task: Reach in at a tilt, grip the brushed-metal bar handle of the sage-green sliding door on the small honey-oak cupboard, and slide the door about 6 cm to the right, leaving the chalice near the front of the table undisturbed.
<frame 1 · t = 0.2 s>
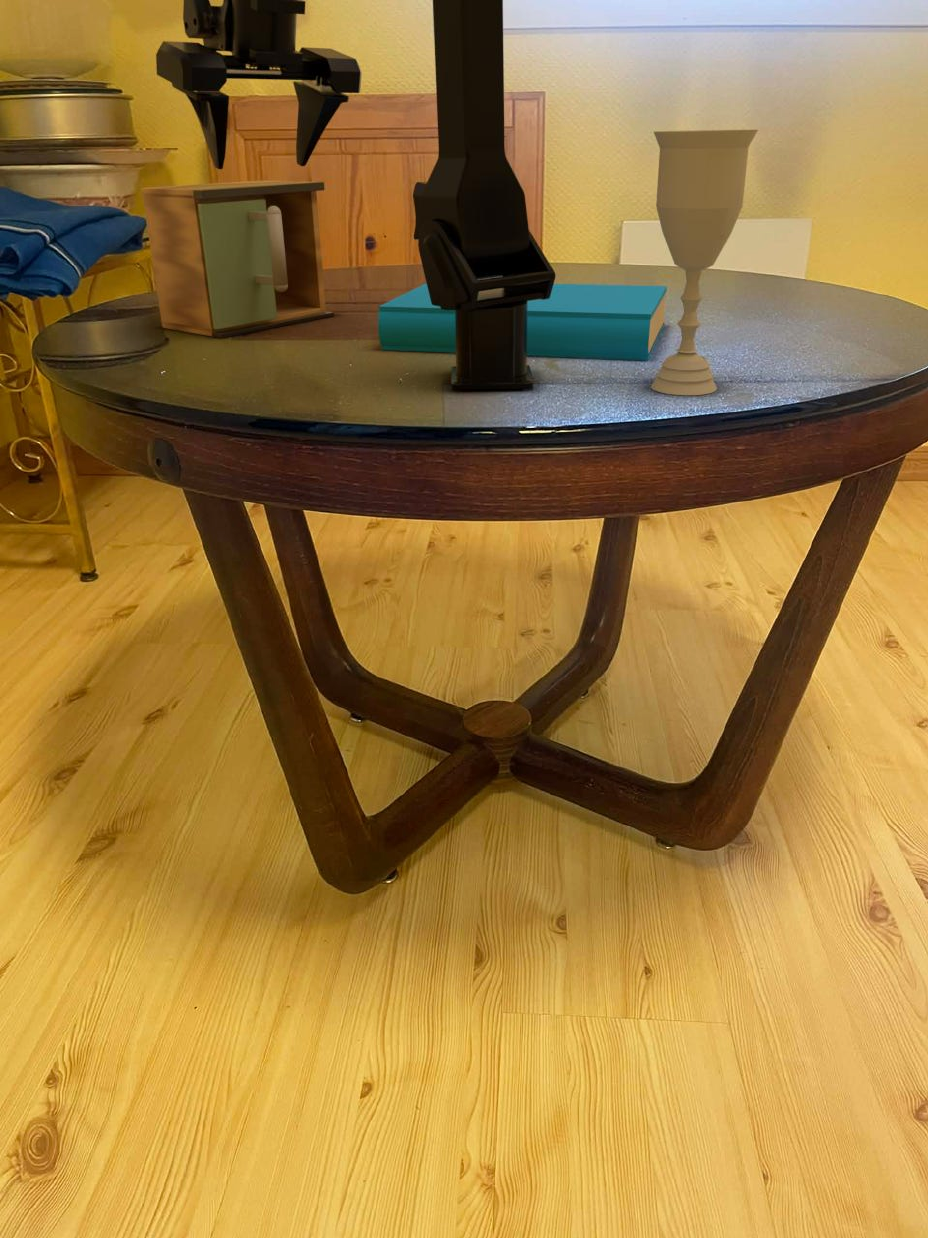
hand: (260, 166, 96), 15 cm above the table, tool pointing down, fingers open, 9 cm apart
chalice: (683, 389, 76), on the table
door: (252, 265, 96), point 7 cm above the table, slide at 0.0 cm
cupboard: (246, 321, 106), on the table
book: (528, 339, 95), on the table
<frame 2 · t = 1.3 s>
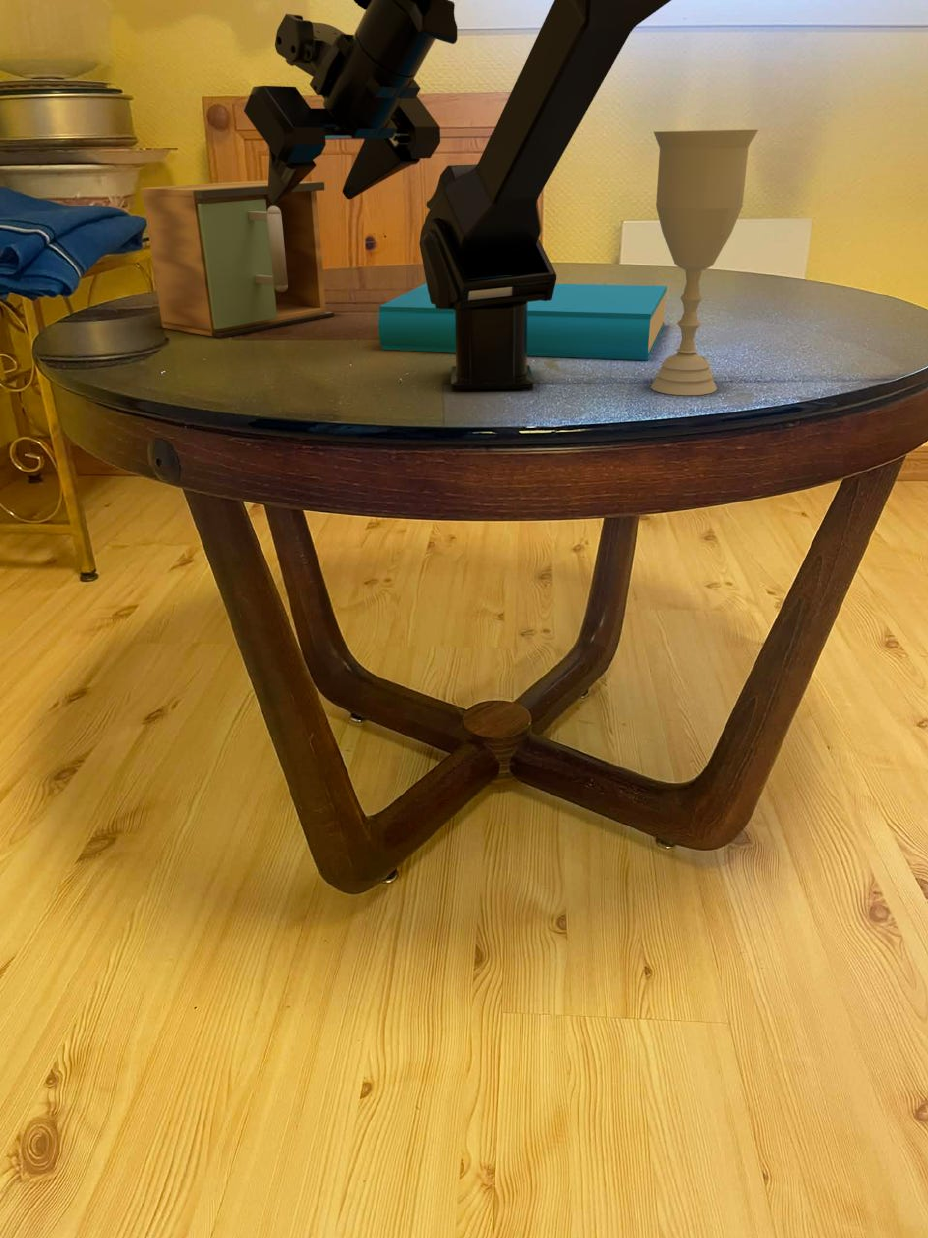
hand: (310, 198, 91), 13 cm above the table, tool tilted 45°, fingers open, 9 cm apart
nothing on the table moved.
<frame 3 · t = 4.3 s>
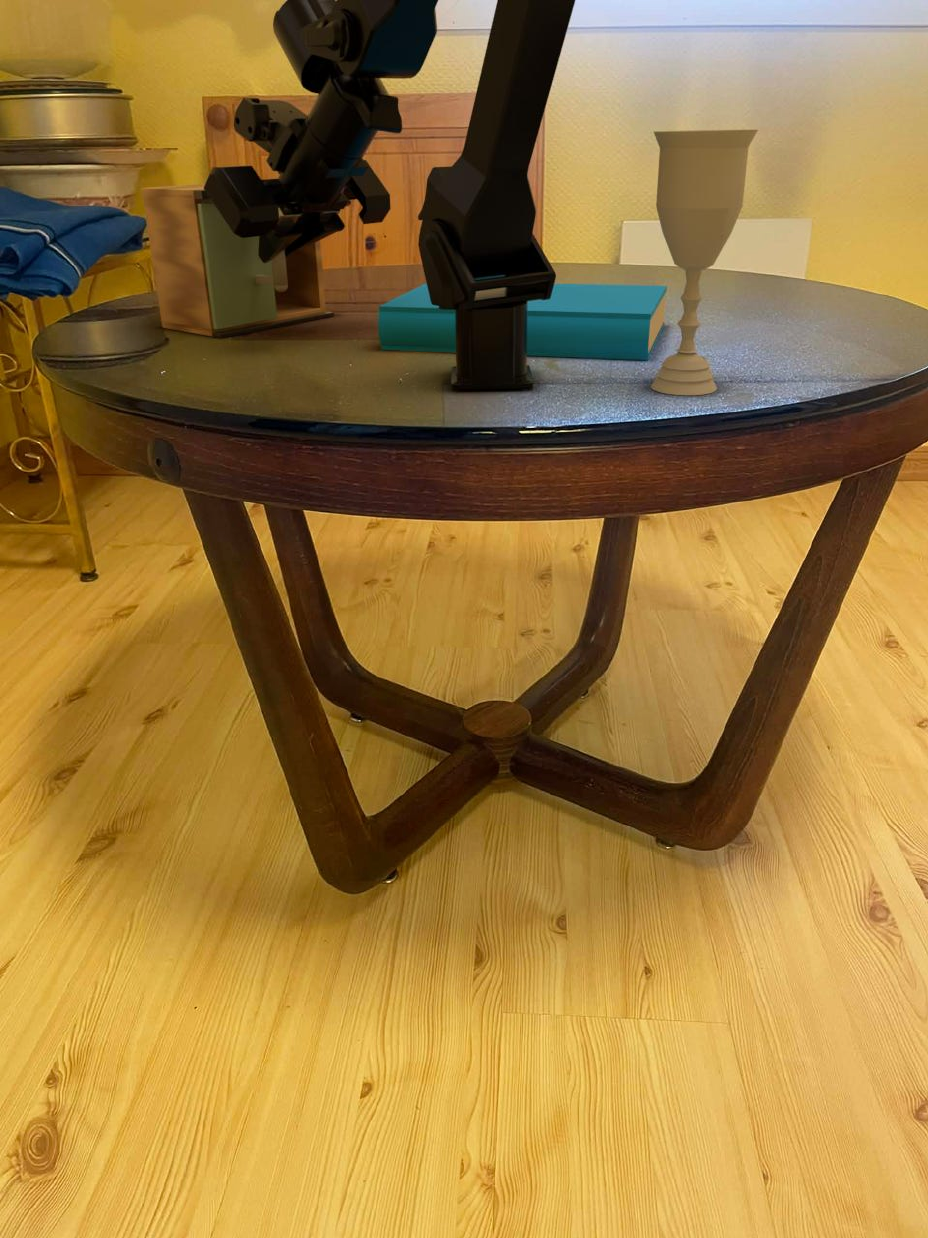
hand: (269, 258, 97), 7 cm above the table, tool tilted 45°, fingers closed on door
door: (252, 265, 96), point 7 cm above the table, slide at 0.0 cm, touching gripper
everything else where it was.
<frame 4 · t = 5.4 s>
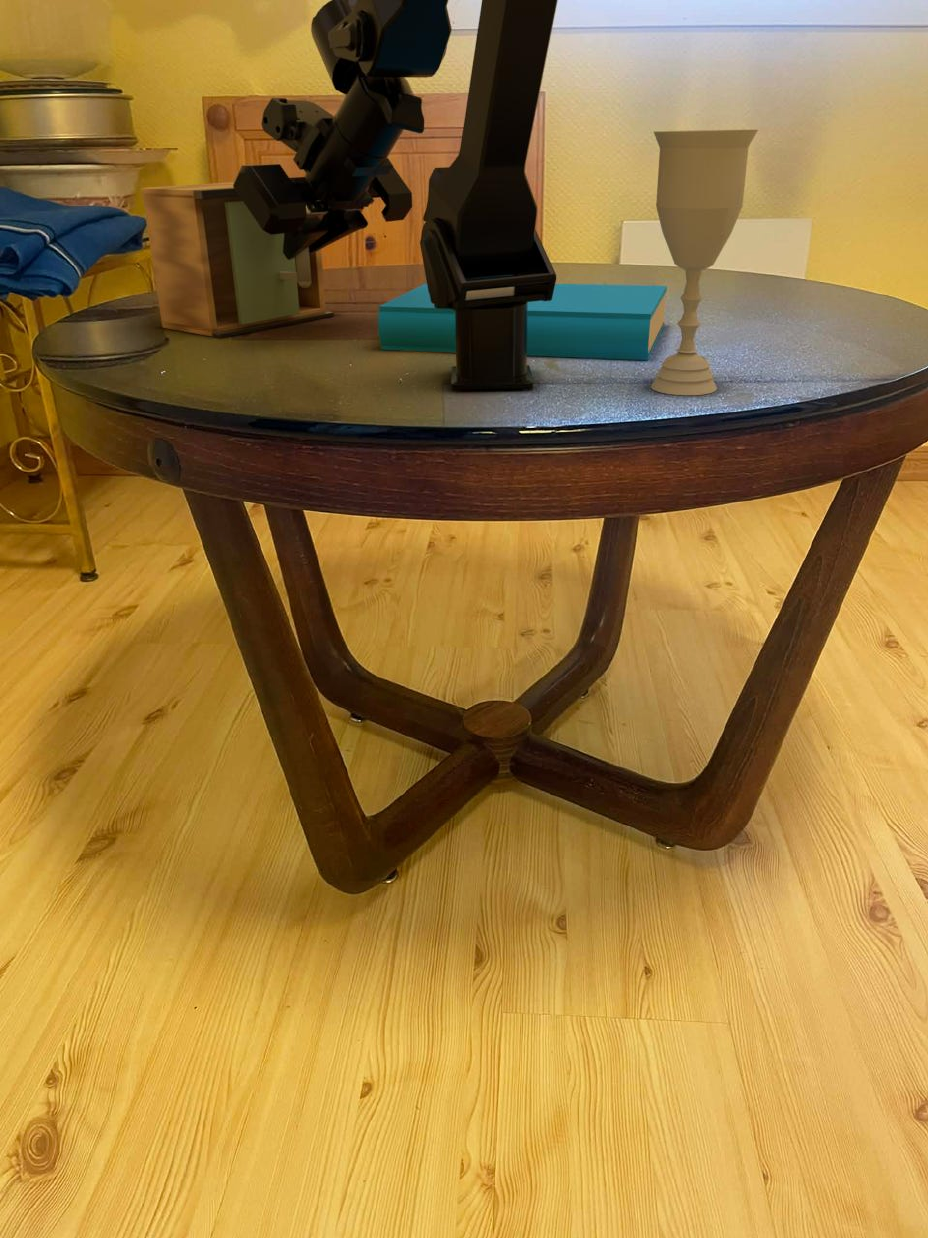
hand: (293, 255, 100), 7 cm above the table, tool tilted 45°, fingers closed on door
door: (277, 262, 99), point 7 cm above the table, slide at 3.2 cm, touching gripper
everything else where it was.
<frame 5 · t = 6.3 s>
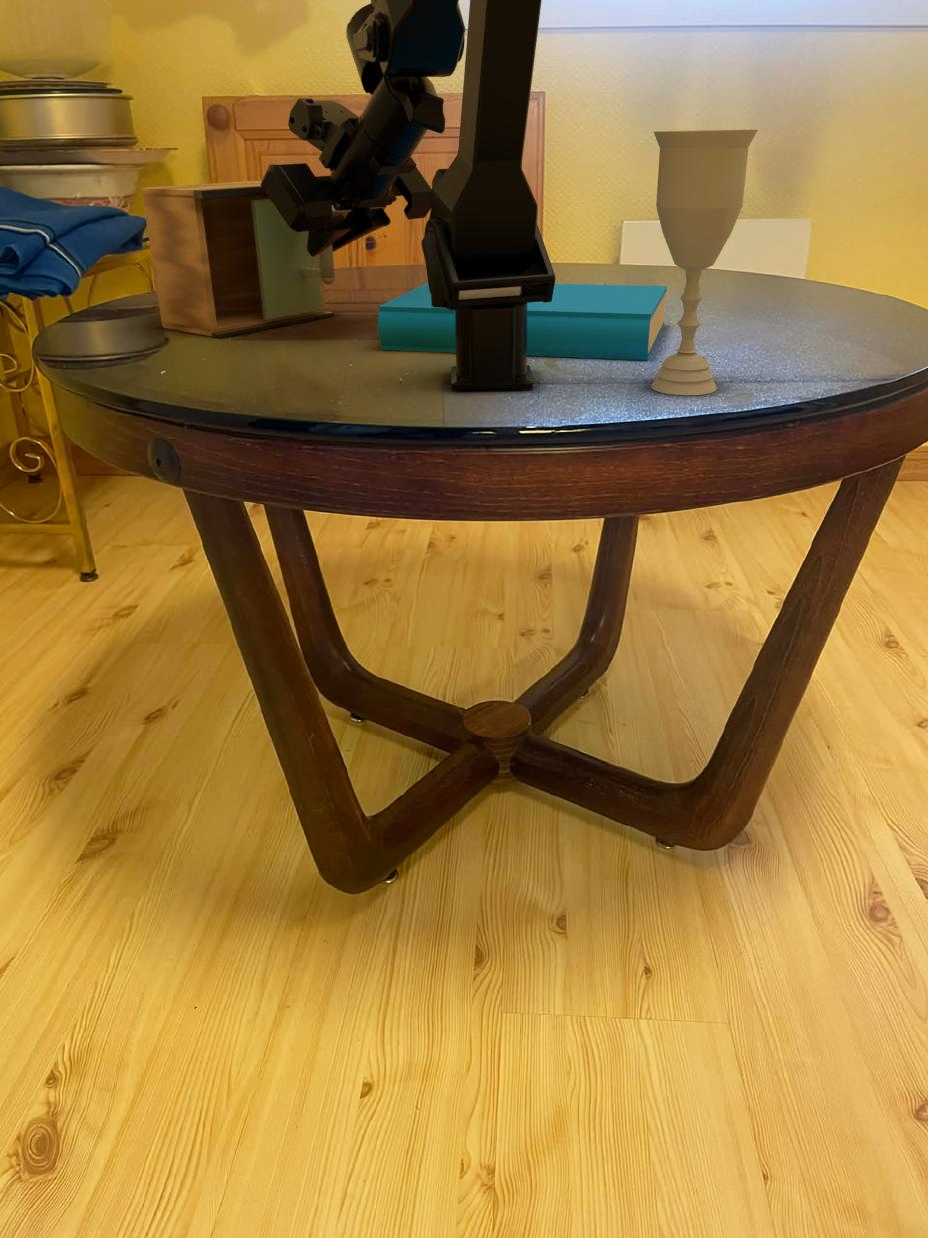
hand: (316, 252, 102), 7 cm above the table, tool tilted 45°, fingers closed on door
door: (301, 258, 101), point 7 cm above the table, slide at 6.4 cm, touching gripper
everything else where it was.
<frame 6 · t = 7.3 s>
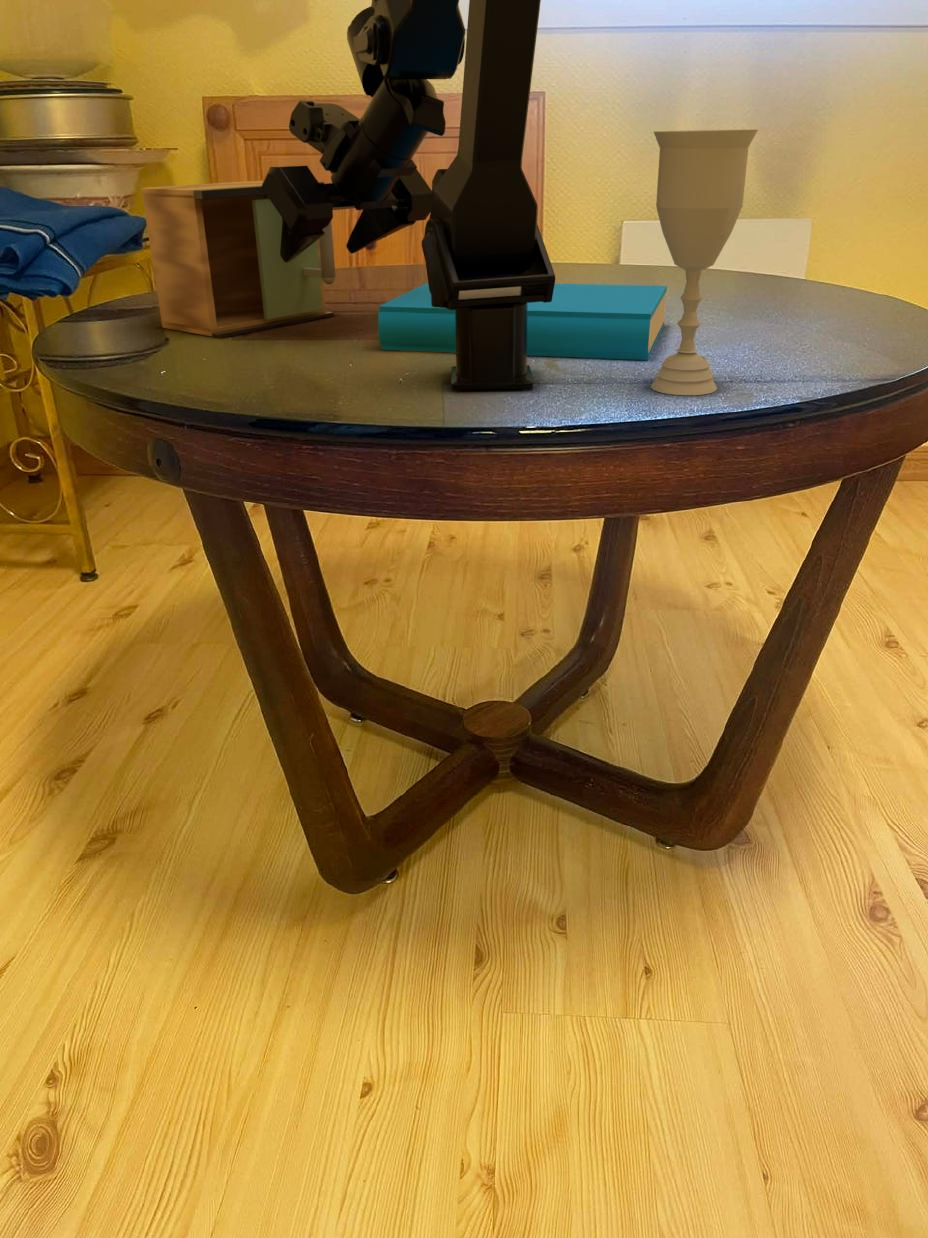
hand: (317, 254, 102), 7 cm above the table, tool tilted 45°, fingers open, 9 cm apart
door: (302, 258, 101), point 7 cm above the table, slide at 6.5 cm
everything else where it was.
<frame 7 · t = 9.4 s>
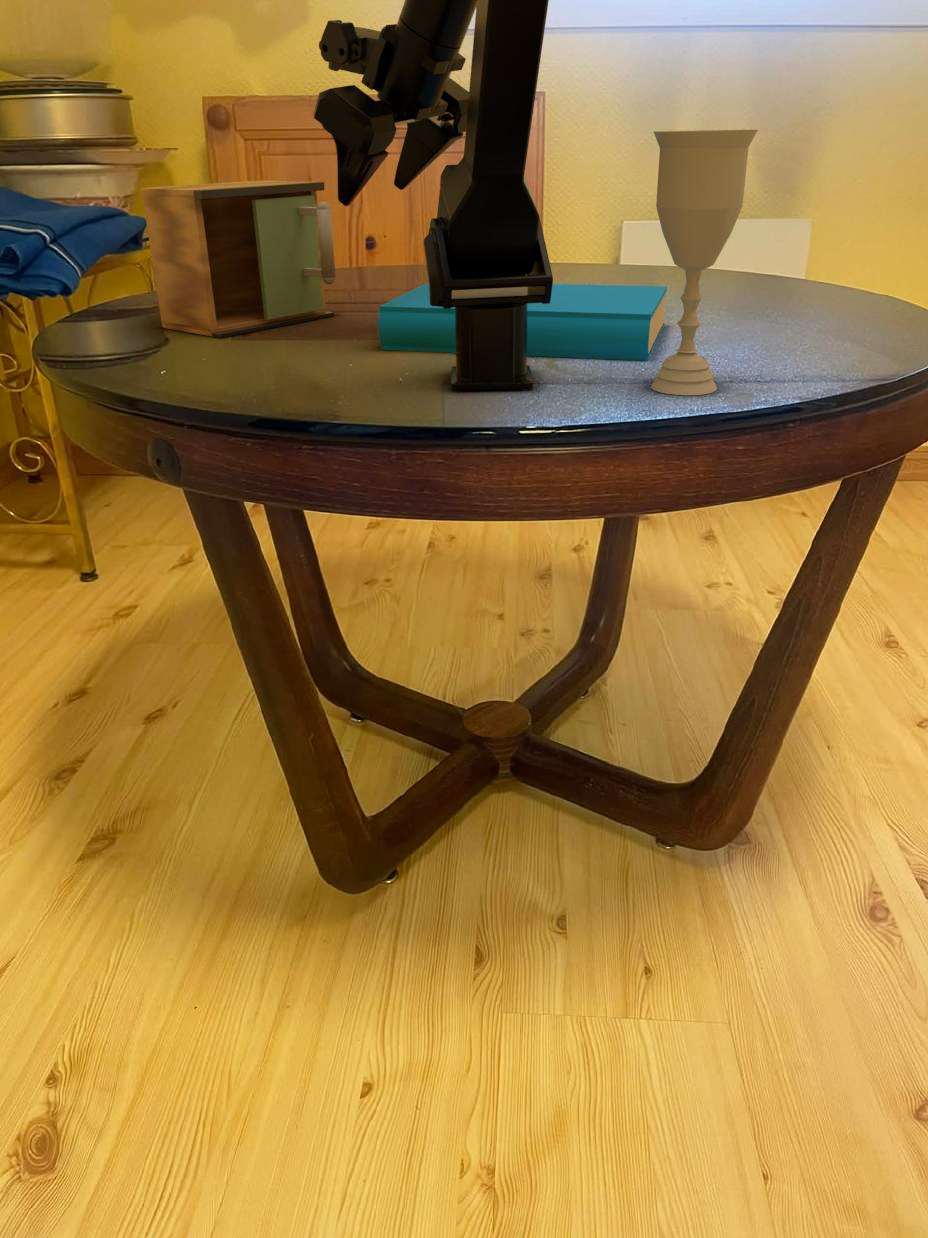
hand: (371, 194, 94), 13 cm above the table, tool tilted 30°, fingers open, 9 cm apart
nothing on the table moved.
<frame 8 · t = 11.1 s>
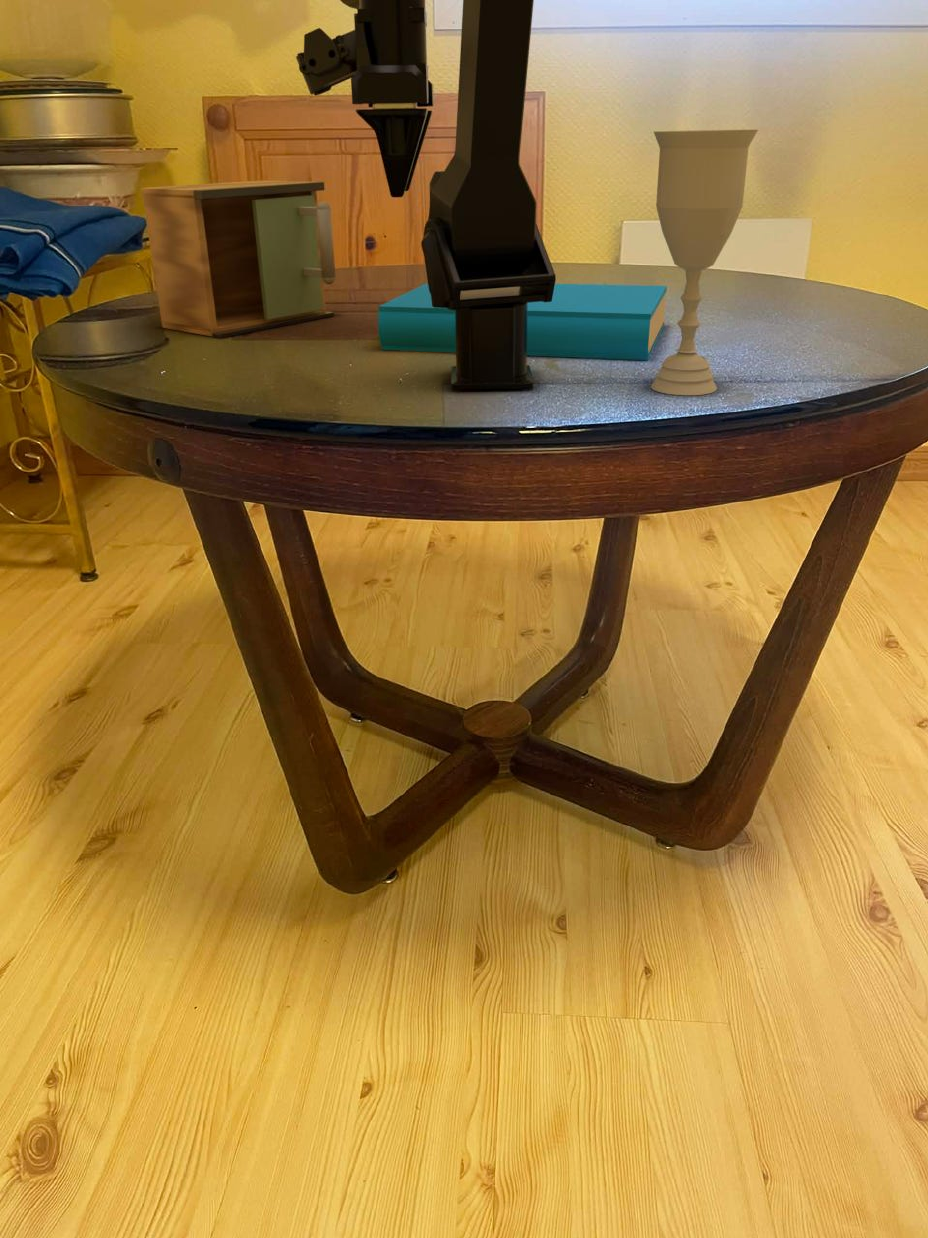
hand: (400, 193, 91), 13 cm above the table, tool pointing down, fingers open, 9 cm apart
nothing on the table moved.
at the end: door slide at 6.5 cm; the gripper is holding nothing; chalice moved 0.2 cm from its start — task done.
